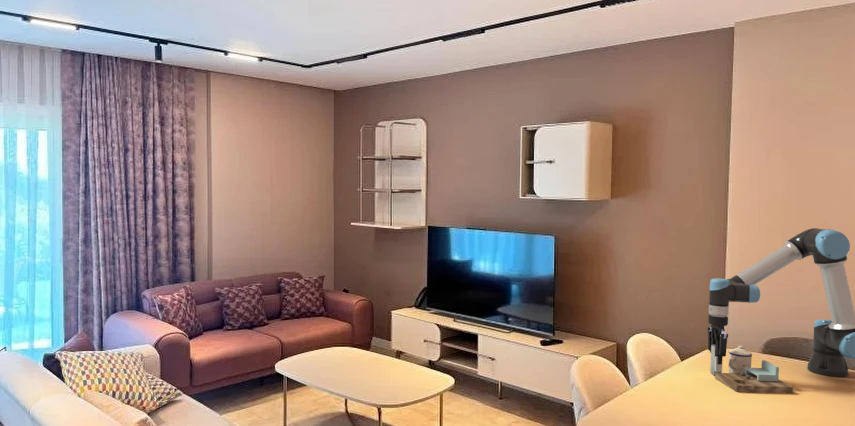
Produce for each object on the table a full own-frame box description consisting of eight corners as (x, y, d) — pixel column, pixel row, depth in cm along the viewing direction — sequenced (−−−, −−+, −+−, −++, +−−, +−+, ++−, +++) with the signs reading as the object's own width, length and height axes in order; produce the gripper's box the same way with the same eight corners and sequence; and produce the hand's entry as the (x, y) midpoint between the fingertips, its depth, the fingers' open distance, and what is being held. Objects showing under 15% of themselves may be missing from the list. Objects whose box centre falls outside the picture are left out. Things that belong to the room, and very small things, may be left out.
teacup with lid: (735, 368, 269) (736, 342, 268) (755, 374, 261) (757, 347, 261) (719, 372, 262) (720, 345, 262) (739, 378, 254) (741, 350, 254)
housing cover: (764, 373, 252) (764, 360, 252) (778, 381, 242) (779, 367, 242) (744, 373, 252) (745, 359, 252) (758, 380, 242) (759, 366, 242)
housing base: (767, 380, 253) (768, 370, 252) (792, 393, 236) (793, 383, 235) (715, 378, 252) (715, 369, 252) (736, 392, 235) (736, 381, 235)
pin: (717, 373, 260) (718, 343, 260) (721, 375, 257) (722, 345, 256) (710, 373, 260) (711, 343, 260) (713, 375, 257) (715, 345, 256)
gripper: (700, 311, 266) (698, 364, 266) (718, 318, 249) (716, 375, 250) (717, 311, 266) (715, 365, 266) (737, 319, 249) (734, 376, 250)
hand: (716, 370), depth 258 cm, fingers closed on pin, 3 cm apart
